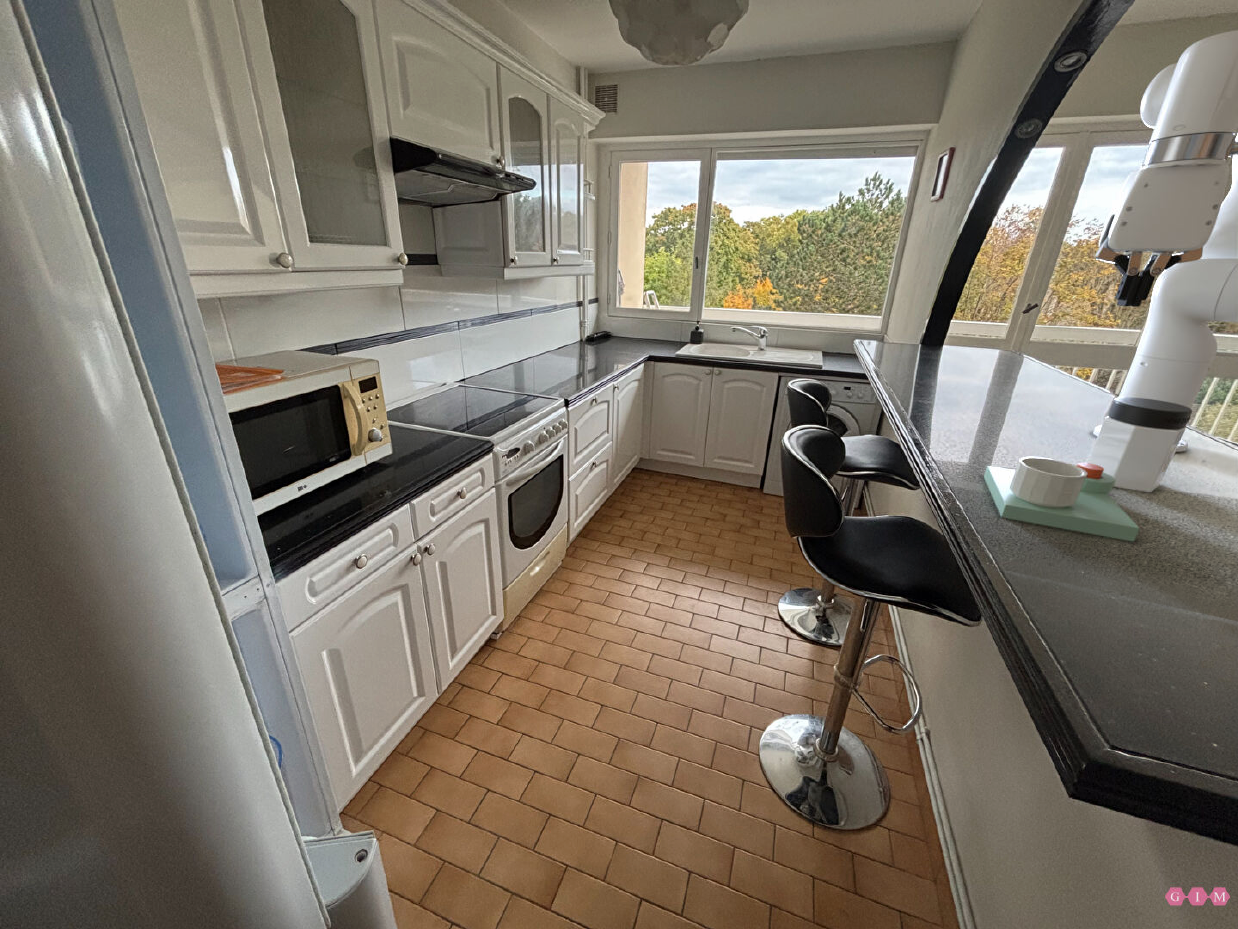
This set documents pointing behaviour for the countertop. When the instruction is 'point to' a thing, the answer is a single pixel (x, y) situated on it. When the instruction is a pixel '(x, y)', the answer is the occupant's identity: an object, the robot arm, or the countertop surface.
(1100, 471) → the button
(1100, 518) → the scale
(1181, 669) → the countertop surface
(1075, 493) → the bowl
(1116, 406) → the jar
